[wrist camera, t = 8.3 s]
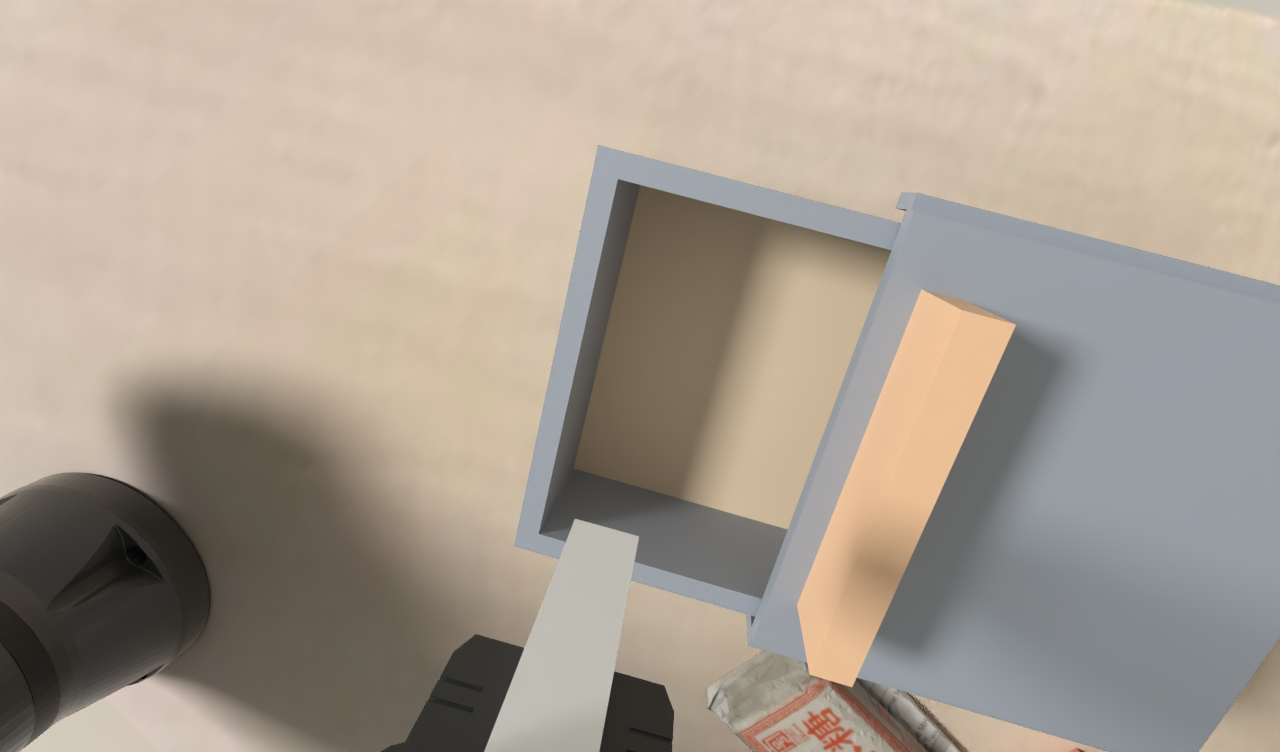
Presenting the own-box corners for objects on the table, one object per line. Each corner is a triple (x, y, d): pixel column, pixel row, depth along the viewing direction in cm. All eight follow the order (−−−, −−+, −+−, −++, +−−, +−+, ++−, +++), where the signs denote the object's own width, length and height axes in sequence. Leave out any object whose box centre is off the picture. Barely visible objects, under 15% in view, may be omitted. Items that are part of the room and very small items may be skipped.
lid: (746, 616, 30) (752, 727, 24) (901, 192, 24) (964, 194, 17) (1141, 731, 29) (1254, 879, 23) (1411, 323, 23) (1669, 373, 17)
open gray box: (557, 471, 36) (514, 546, 29) (628, 155, 31) (598, 144, 23) (857, 556, 36) (894, 657, 28) (987, 247, 30) (1077, 268, 22)
